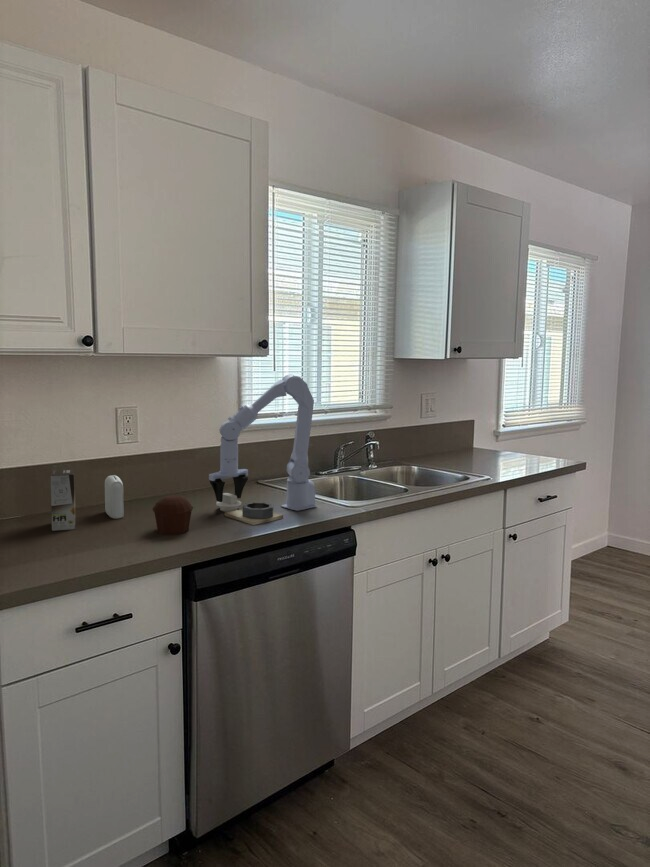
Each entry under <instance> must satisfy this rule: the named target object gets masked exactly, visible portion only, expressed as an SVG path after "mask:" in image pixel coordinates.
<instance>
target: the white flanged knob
mask: <svg viewBox="0 0 650 867" xmlns="http://www.w3.org/2000/svg"><path fill="white" fill-rule="evenodd" d="M215 503H216V504H215V505H216V506H217V507H219V508H220V511H222V512H224V513H226V512H231V511H236V510H238V507H240V506H242V501H240V500H238V498H237V495H235V494H233V493H228V492H223V500H222V502H218V501H217V500H216V502H215Z"/></svg>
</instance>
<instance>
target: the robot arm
mask: <svg viewBox="0 0 650 867" xmlns="http://www.w3.org/2000/svg"><path fill="white" fill-rule="evenodd" d="M288 395H289V396H290V397H292V399H293V400H294V401H295V402H296V404H298V405H297V406H298V407H297V414H296V415H297V416H296V422H295V431H294V440H293V447H292V452H291V455H290V459H289V461H288V463H287V464H286V472H287V474H288V475H289V476H288V478H287V479H286V503H285V504H281V505H280V507H281V508H286V509H287V510H288V509H289V510H293V511H296V512H298V511H303V510H307V509H313V508H316V507H317V506H318V505H317V504H316V485H315V483H314V481H312V479H309V477H310V475H311V469H310V468H309V454H308V453H309V446H310V445H309V444H310V437H311V429H312V421H313V412H314V405H315V399H314V397H313V394H312V393H311V391H310V389H309V385H308V383H307V382H306V381H305V380H304V379H303V378H301V377H300V376H299V375H294V374H287V375H284V376H283V377H282V379H279V380H278V381H276V382H275V383H274V384H273V385H271V386H270V387H269V388H267V390H266V391H265V392H264V393H263V394H261V396H259V397H258V398H257V399H256V400H255V401H254V402H253V403H252V404H245V405H243V406H242V405H241V406H240V407H238V409H239V410H238V411H237V412H236V413H235V414H233V415H232V416H229V417H228V418H227V421H224V422H223V423H221V425H220V427H219V433H220V445H219V446H220V450H219V452H220V454H219V457H220V458H219V461H220V462H219V464H220V466H219V468H220V470H219V471H217V472H213V473H209V474H208V480H209V483H210V485H211V487H212V489H213V492H214V495H215V499H216V502H217V501H218V502H222V500H223V493H224V488H225V485H226V482H225V481H223V480H224V479H231V478H232V480H233V486H234V495H237V499H241V497H242V494H243V490H244V488H245V485H246V483H247V482H248V480H249V477H248V476H249V469H246V468H241V469H239V444H238V440H239V437H240V435H241V434H240V433H241V432H244V430H246V429H247V428H248V427H249V426H251V424H252V423H254V422H255V421H256V420H258V413H259V412H261V411H262V410H263V409H264V408H265V407H267V406H268V405H269V404H270V403H271V402H273V401H274V400H275V399H277V398H280V397H281V398H282V397H287V396H288Z"/></svg>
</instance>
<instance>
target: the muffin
mask: <svg viewBox="0 0 650 867" xmlns="http://www.w3.org/2000/svg"><path fill="white" fill-rule="evenodd" d="M193 508H194V506H192V504H191V503H190V502H189V501H188V499H187V498H185V497H184V496H182V495H179V494H170V495H165V496H163V497H162V498H160V499H159V500H157V502H156V503H155V505H154V506H153V507H152V510H153V512H154V517H155V523H156V529H157V533H158V534H162V535H164V536H165V535H167V536H169V535H172V536H173V535H174V536H175V535H181V534H182V535H183V534H185V533H186V532H189V530H190V524H191V518H192V517H191V516H192V511H193Z"/></svg>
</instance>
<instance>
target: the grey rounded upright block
mask: <svg viewBox="0 0 650 867" xmlns="http://www.w3.org/2000/svg"><path fill="white" fill-rule="evenodd" d="M104 502H105V503H104V506H105V508H104V510H105V513H106V514H107V515H108V516H109V518H111V519H121V518H123V517H124V515H125V514H124V483H123V481H122V479H121V478H120V477H119V476H117V475H116V474H113V475H108V476H107V477H106V478H105V480H104Z"/></svg>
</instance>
